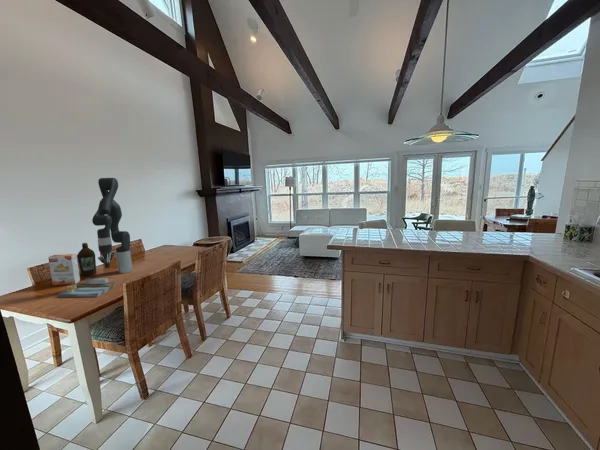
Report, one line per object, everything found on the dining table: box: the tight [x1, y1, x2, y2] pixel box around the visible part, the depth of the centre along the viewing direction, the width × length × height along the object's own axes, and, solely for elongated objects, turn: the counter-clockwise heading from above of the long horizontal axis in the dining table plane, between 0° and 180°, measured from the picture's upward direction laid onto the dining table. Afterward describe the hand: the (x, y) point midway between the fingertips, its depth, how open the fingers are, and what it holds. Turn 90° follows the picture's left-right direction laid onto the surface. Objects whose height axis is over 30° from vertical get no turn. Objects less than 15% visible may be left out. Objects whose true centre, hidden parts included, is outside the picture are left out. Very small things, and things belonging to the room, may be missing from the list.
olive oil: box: [76, 242, 97, 277], centre depth 198 cm, size 11×11×25 cm
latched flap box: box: [57, 281, 117, 298], centre depth 167 cm, size 17×24×6 cm
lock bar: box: [84, 277, 110, 284], centre depth 173 cm, size 14×3×4 cm, turn 93°
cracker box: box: [47, 253, 81, 286], centre depth 179 cm, size 14×6×21 cm, turn 101°
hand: (107, 267), depth 179 cm, fingers closed
